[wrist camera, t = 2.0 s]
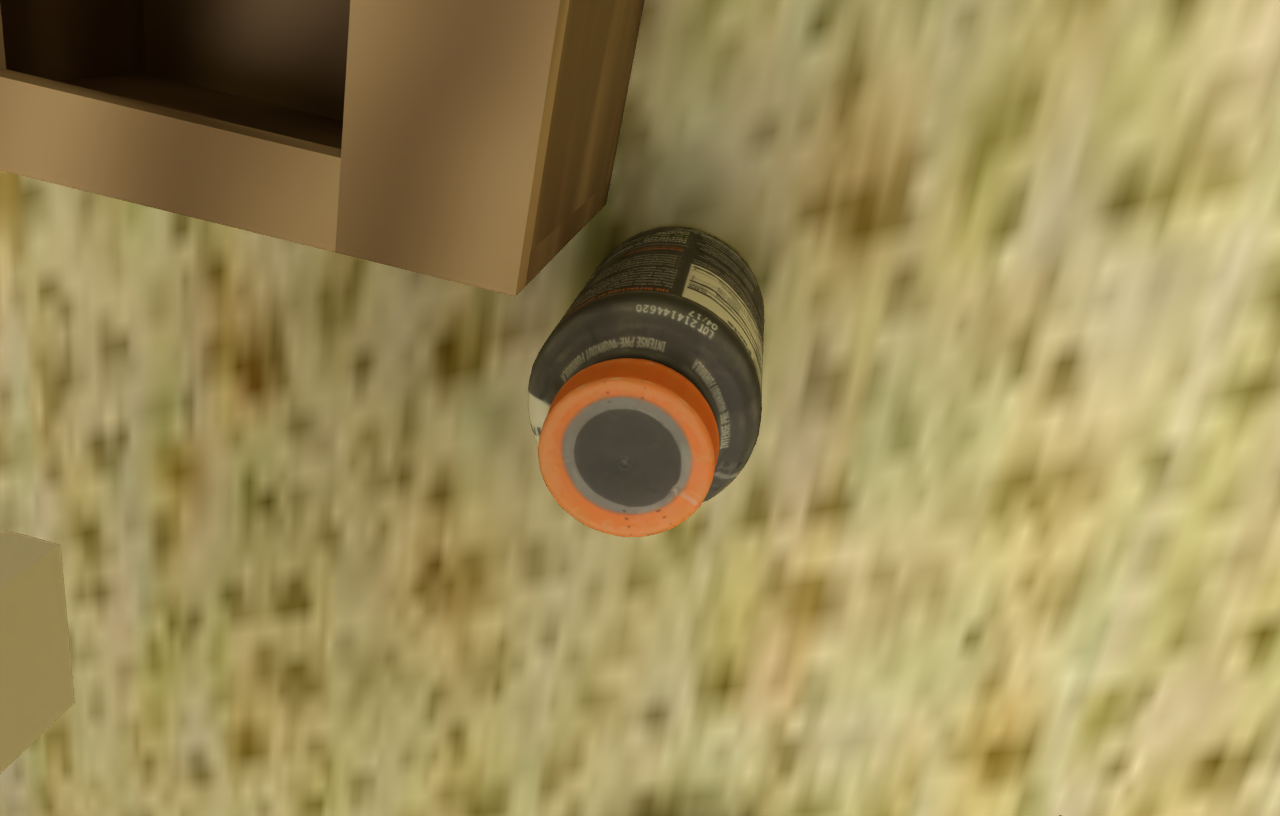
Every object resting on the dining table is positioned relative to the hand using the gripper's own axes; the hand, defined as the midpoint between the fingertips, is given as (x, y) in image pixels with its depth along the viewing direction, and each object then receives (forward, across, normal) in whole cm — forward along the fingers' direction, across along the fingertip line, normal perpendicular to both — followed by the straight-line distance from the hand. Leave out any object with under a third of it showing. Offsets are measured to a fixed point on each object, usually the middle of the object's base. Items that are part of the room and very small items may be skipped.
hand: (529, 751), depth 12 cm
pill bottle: (+20, 0, 0) cm, 20 cm away
